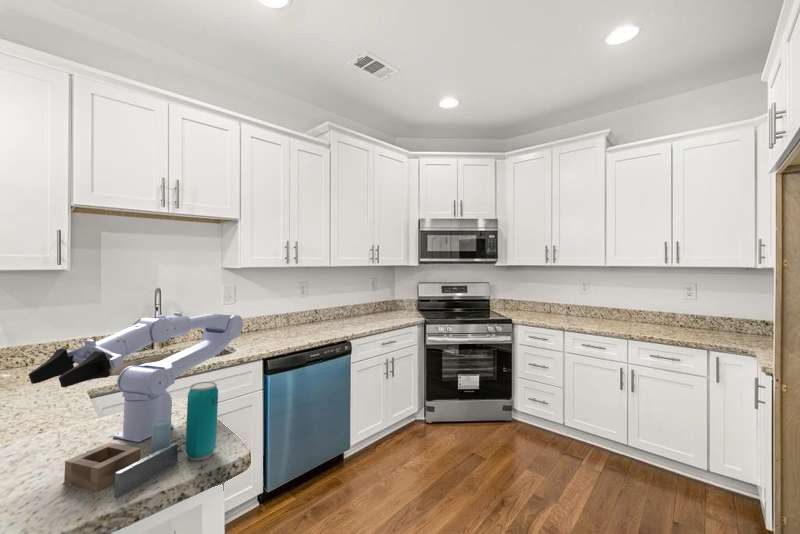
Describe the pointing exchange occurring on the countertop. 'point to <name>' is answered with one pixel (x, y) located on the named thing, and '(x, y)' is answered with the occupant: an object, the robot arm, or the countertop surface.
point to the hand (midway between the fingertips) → (45, 380)
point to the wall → (145, 469)
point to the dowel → (160, 435)
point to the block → (99, 465)
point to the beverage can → (201, 420)
